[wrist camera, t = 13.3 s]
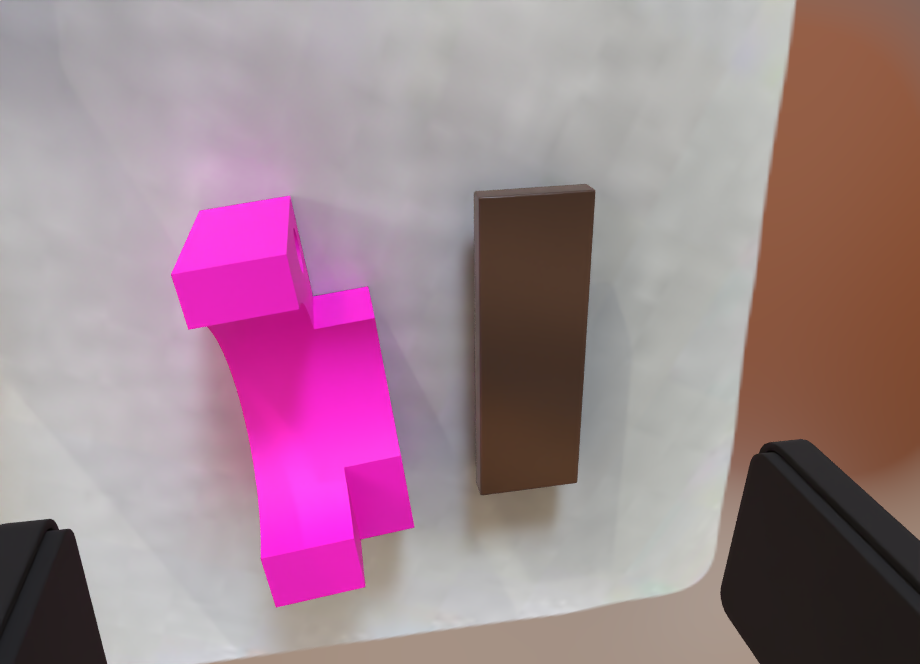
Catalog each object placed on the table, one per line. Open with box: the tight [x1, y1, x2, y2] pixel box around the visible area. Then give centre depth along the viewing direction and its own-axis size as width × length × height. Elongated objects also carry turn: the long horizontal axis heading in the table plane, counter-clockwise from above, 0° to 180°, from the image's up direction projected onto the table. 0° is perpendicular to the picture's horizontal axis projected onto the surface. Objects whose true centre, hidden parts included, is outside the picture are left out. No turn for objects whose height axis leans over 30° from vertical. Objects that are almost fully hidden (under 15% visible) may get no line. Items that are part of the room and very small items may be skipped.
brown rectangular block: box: [474, 184, 595, 495], centre depth 35 cm, size 15×5×3 cm, turn 1°
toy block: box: [171, 196, 414, 607], centre depth 31 cm, size 15×6×8 cm, turn 7°
